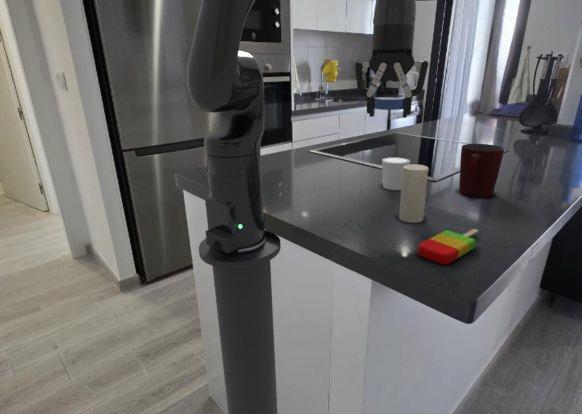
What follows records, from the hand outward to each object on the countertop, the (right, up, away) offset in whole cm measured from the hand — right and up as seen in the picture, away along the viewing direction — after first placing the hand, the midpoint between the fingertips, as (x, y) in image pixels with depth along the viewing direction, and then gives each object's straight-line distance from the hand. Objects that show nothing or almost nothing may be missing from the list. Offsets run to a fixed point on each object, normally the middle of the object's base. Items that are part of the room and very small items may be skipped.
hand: (388, 116), depth 76 cm
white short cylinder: (+6, -13, +20) cm, 25 cm away
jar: (+5, -21, 0) cm, 21 cm away
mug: (+23, -16, +14) cm, 31 cm away
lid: (0, +3, -1) cm, 3 cm away
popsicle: (+8, -25, -12) cm, 29 cm away
